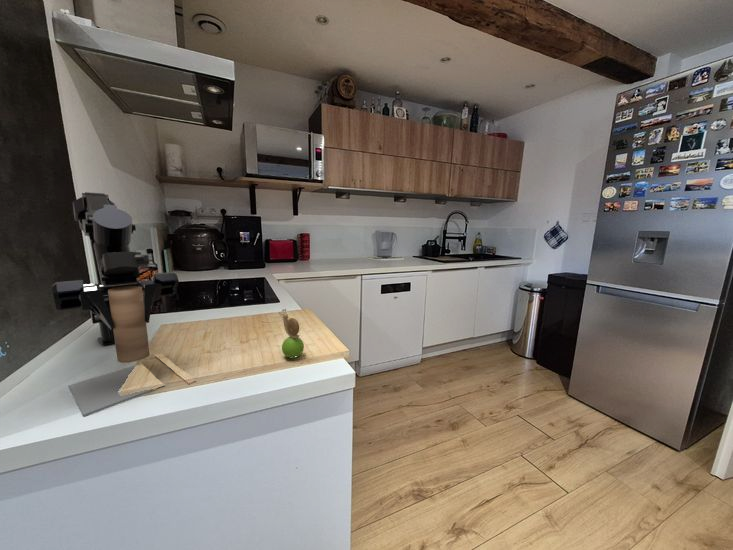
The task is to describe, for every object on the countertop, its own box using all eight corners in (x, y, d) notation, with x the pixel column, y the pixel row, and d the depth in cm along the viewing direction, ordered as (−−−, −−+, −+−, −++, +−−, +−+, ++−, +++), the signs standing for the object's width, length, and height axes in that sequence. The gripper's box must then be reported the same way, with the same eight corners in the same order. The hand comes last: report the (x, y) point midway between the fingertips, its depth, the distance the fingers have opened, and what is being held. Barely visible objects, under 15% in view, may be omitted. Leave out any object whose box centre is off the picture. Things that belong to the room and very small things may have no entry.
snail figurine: (293, 349, 76) (292, 306, 74) (308, 356, 72) (308, 311, 70) (275, 356, 72) (274, 311, 70) (290, 364, 68) (289, 316, 66)
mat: (68, 387, 56) (68, 385, 56) (142, 364, 66) (142, 363, 66) (83, 416, 48) (83, 414, 48) (165, 386, 58) (164, 384, 58)
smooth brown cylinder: (123, 353, 58) (114, 286, 55) (152, 349, 60) (145, 285, 57) (112, 364, 53) (102, 292, 51) (144, 360, 55) (136, 291, 53)
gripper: (43, 236, 48) (53, 314, 43) (172, 235, 62) (192, 294, 56) (51, 275, 55) (61, 346, 49) (166, 266, 68) (183, 321, 63)
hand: (130, 325), depth 54 cm, fingers closed on smooth brown cylinder, 5 cm apart
